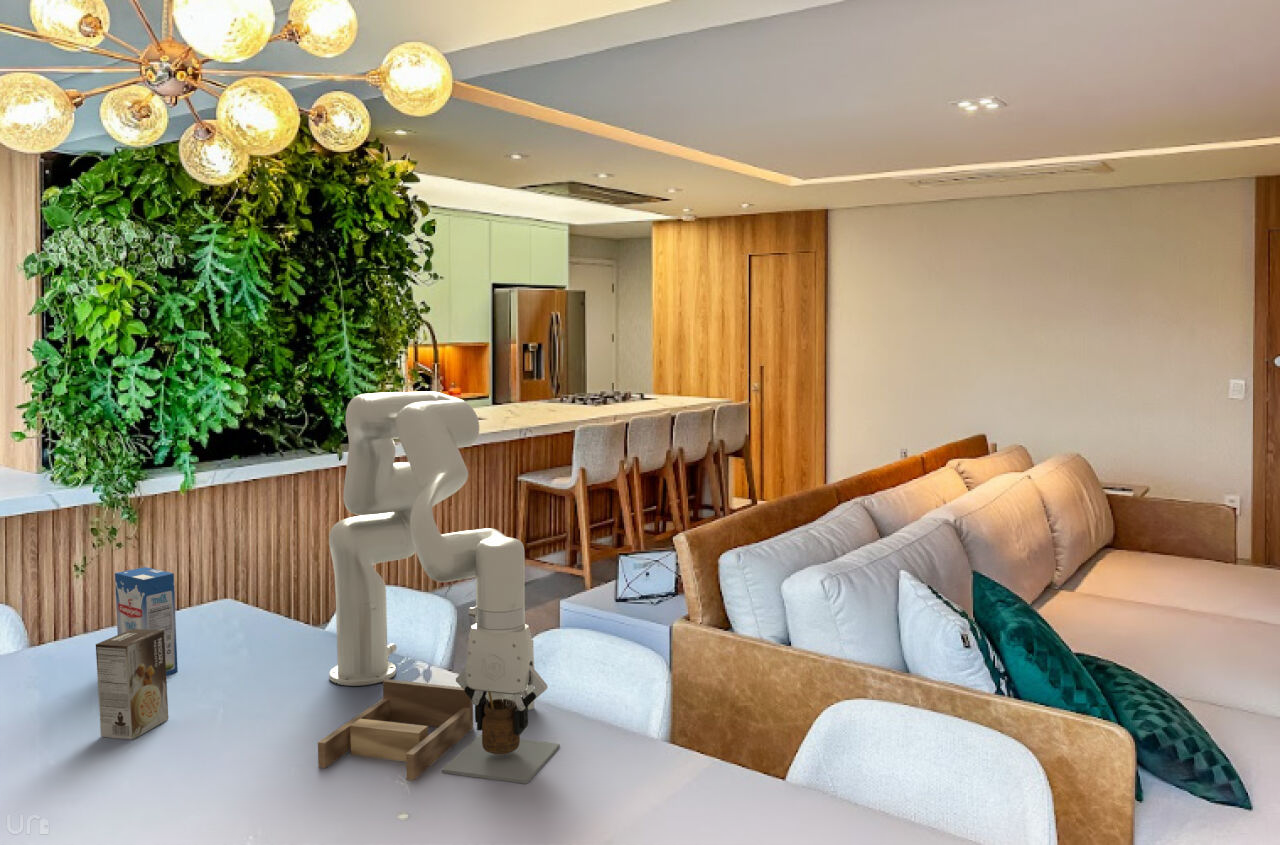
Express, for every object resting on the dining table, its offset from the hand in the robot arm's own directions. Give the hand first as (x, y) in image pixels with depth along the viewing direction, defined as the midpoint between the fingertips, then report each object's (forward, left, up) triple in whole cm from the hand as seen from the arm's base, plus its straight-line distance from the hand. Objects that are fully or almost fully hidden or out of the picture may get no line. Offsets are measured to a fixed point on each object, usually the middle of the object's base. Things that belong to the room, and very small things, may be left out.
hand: (501, 728), depth 156 cm
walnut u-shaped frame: (+1, -18, -5) cm, 19 cm away
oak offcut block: (+4, -18, -5) cm, 19 cm away
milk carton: (-18, -84, -5) cm, 86 cm away
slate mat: (0, 0, -5) cm, 5 cm away
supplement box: (-20, -8, -5) cm, 22 cm away
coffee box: (+6, -65, -5) cm, 65 cm away
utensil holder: (0, 0, -3) cm, 3 cm away
